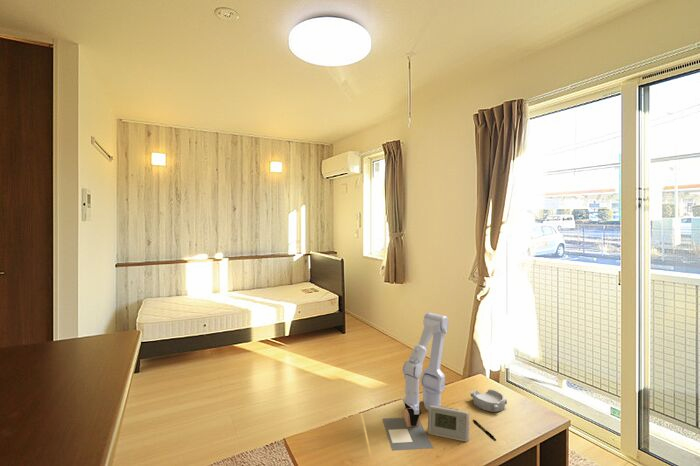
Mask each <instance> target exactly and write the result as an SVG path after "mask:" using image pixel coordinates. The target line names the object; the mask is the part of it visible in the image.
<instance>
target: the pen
mask: <svg viewBox="0 0 700 466" xmlns="http://www.w3.org/2000/svg"><path fill="white" fill-rule="evenodd" d="M472 422H473V424H474V425H475V426H476V427H477V428H480V429H481V430H482V431H484V433H485V434H486V435H488V437H490V438H491V439H493V441H497V439H496V438H495V436H494V435H493V434H492V433H491V432H490V431H488V430H487V429H486V428H484V426H482V425H481V424H480V423H479V422H478V421H477V420H476V419H473V420H472Z"/></svg>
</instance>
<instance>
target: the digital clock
mask: <svg viewBox="0 0 700 466" xmlns="http://www.w3.org/2000/svg"><path fill="white" fill-rule="evenodd" d="M427 411H428V413H427V434H429V435H432V436H437V437H442V438H446V439H451V440H457V441H460V442H466V443H467V442H469V441H470V413H469V412H468V411H466V410H460V409H458V408H453V407H447V406H434V405H430V406H429V410H427Z"/></svg>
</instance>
